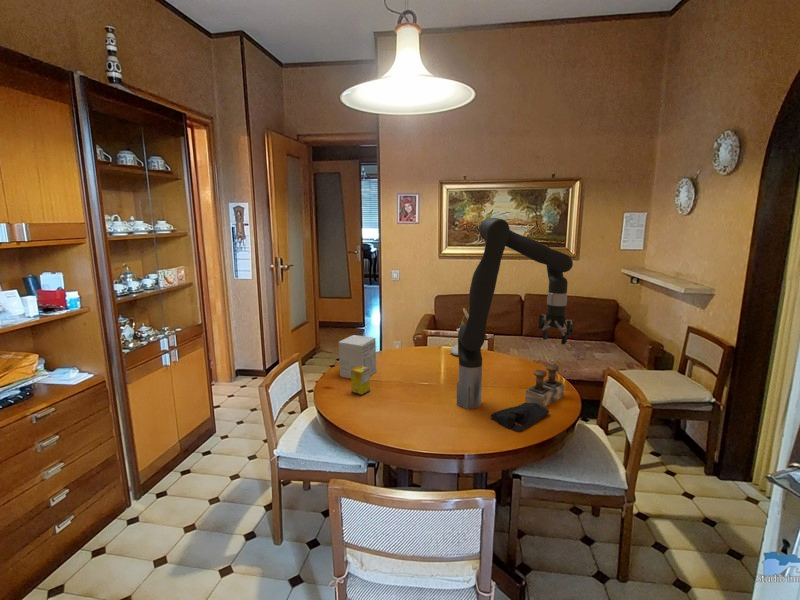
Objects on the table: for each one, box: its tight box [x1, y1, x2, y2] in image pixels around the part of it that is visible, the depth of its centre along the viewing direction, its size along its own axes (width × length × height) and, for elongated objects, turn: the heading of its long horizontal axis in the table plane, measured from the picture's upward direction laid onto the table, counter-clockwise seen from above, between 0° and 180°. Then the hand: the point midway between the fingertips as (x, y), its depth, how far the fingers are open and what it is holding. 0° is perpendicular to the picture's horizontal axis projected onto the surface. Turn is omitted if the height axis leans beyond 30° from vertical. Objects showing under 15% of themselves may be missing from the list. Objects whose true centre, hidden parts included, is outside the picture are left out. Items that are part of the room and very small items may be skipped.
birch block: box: [524, 379, 566, 408], centre depth 180 cm, size 16×8×6 cm, turn 130°
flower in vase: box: [449, 307, 469, 356], centre depth 235 cm, size 13×11×25 cm
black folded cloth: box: [489, 402, 550, 433], centre depth 165 cm, size 15×22×5 cm
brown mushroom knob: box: [545, 364, 560, 383], centre depth 182 cm, size 5×5×6 cm
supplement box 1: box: [338, 334, 377, 379], centre depth 209 cm, size 13×13×18 cm
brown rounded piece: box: [533, 369, 548, 388], centre depth 176 cm, size 5×5×6 cm
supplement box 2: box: [350, 366, 371, 397], centre depth 189 cm, size 6×6×11 cm
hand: (554, 341), depth 179 cm, fingers open, 8 cm apart
